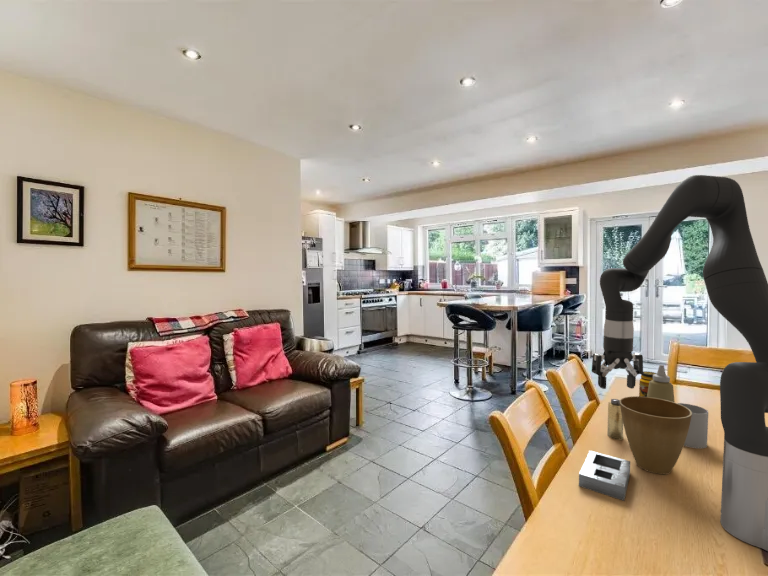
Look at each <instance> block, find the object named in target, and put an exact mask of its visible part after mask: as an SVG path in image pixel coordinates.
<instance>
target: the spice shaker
mask: <svg viewBox="0 0 768 576" xmlns="http://www.w3.org/2000/svg"><path fill="white" fill-rule="evenodd" d="M620 400H621V399H618V398H611V399H610V401H609V402H608V403H607V431H606V432H607V437H609V438H610V439H614V440H620V441H621V440H623V439H624V424H623V420H622V414H621V408H620Z"/></svg>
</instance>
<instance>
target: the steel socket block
mask: <svg viewBox="0 0 768 576" xmlns="http://www.w3.org/2000/svg"><path fill="white" fill-rule="evenodd" d="M630 475H631V460H627V459H623V458H619V457H616V456H612V455H609V454H605V453H601V452H597V451H593V450H588V453H587V455H586V457H585V460H584V462H583V464H582V466H581V469H580V470H579V473H578V487H581V488H583V489H587V490H590V491H592V492H595V493H598V494H602V495H605V496H608V497H612V498H614V499H618V500H620V501H625V499H626V494H627V490H628V485H629V480H630Z"/></svg>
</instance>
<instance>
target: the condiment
mask: <svg viewBox="0 0 768 576" xmlns="http://www.w3.org/2000/svg"><path fill="white" fill-rule="evenodd" d="M654 374H657V372H652V371H644V370H643V374H640V378H639V383H638V384H639V386H638V389H639V390H638V396H640V397H647V393H648V387H649V382H650V381H651V380H653V375H654Z"/></svg>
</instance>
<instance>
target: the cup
mask: <svg viewBox="0 0 768 576" xmlns="http://www.w3.org/2000/svg"><path fill="white" fill-rule="evenodd" d="M677 403H678V404H680V405H683V406H685V407H687V408H688V409H690V410H691V412H692V417H691V422H690V426H689V430H688V434H687V437H686V441H685V443H684V446H683V447H686V448H691V449H692V448H693V449H705V448H707V447H708V435H709V434H708V432H709V431H708V429H709V411H708V410H707V409H706V408H704V407H701V406H698V405H694V404H690V403H684V402H683V403H682V402H677Z"/></svg>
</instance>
